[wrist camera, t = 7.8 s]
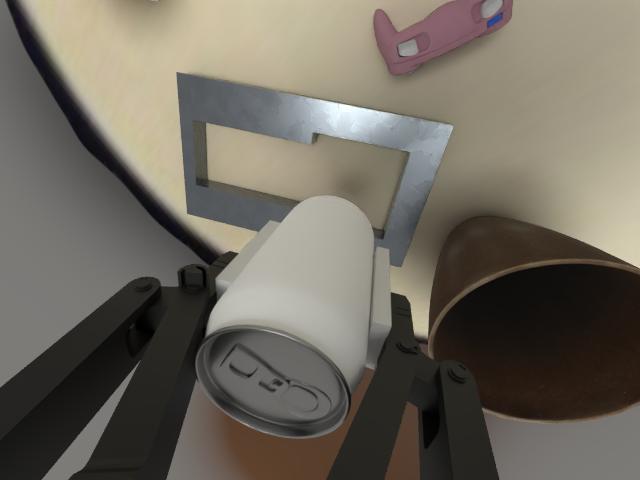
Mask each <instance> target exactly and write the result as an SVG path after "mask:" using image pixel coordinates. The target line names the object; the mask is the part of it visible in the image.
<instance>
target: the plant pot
mask: <svg viewBox="0 0 640 480" xmlns="http://www.w3.org/2000/svg"><path fill="white" fill-rule="evenodd" d="M428 352H429V357H430V358H431V359H433V360H435V361H437V362H439V363H440V364H441V363H442V362H443V361H444V360H448V359H450V360H455V361H457V362H459V363H461V364H463V365H464V366H465V367H467V368H468V369H469V371H470V372H471V373H472V374H473V376H474V379H475V382H476V386H477V390H478V394H479V398H480V402H481V406H482V410H483V411H484V412H486V413H490V414H493V415H495V416H499V417H503V418H506V419H512V420H518V421H524V422H533V423H571V422H581V421H588V420H593V419H599V418H603V417H607V416H611V415H614V414H618V413H621V412H624V411H627V410H630V409H632V408H634V407H637V406H639V405H640V268H638V267H635V266H633V265H631V264H629V263H627V262H625V261H623V260H621V259H619V258H617V257H615V256H612V255H610V254H608V253H606V252H604V251H602V250H600V249H598V248H595V247H593V246H591V245H589V244H587V243H584V242H582V241H579V240H577V239H574V238H572V237H569V236H567V235H564V234H561V233H558V232H555V231H553V230H550V229H547V228H544V227H540V226H537V225H534V224H530V223H526V222H522V221H518V220H513V219H508V218H501V217H491V216H482V217H476V218H472V219H469V220H467V221H465V222H463V223H461V224H460V225H458V226H457V227H456V228H455V229H454V230H453V231H452V232H451V234H450V235H449V237H448V239H447V241H446V243H445V245H444V247H443V249H442V252H441V255H440V257H439V260H438V264H437V267H436V271H435V276H434V281H433V286H432V292H431V300H430V310H429V331H428Z"/></svg>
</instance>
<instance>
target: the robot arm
mask: <svg viewBox="0 0 640 480" xmlns="http://www.w3.org/2000/svg"><path fill="white" fill-rule="evenodd" d="M280 224H281V223H279V222H275V221H271V220H270V221H269V222H268V223H267V224H266V225H265V226H264V227H263V228H262V229H261V230H260V231H259V232H258V234H257V235H256V236H255V237H254V238H253V239H252V240H251V241H250V242H249V243H248V244H247V245H246V246H245V247H244V248H243V250H242V251H241V252H240V253H235V252H231V251H229V252H227V253H225V254H222V255H221V256H220V257H219V258H218V259H217V260H216V261H215V262H214V263H213V264H212V265H211V266H210V267H209V268H207V267H205V266H204V265H200V264H191V265H187V266H184V267H182V268H180V270H179V271H178V282H179V287H163V286H161V284H160V281H159V280H158V279H157V278H154V277H141V278H138V279H135V280H133V281H131V282H129V283H128V284H127V285H126V286H124V287H123V288H122V289H121V290H120V291H118V292H117V293H116V294H115V295H113V296H112V297H111V298H110V299H109V300H107V301H106V302H105V303H104V304H102V305H101V306H100V307H99V308H97V309H96V310H95V311H94V312H93V313H91V314H90V315H89V316H88V317H86V318H85V319H84V320H83V321H81V322H80V323H79V324H78V325H77V326H75V327H74V328H73V329H72V330H70V331H69V332H68V333H67V334H65V335H64V336H63V337H62V338H61V339H59V340H58V341H57V342H56V343H54V344H53V345H52V346H51V347H49V349H47V350H46V351H45V352H43V353H42V354H41V355H40V356H38V357H37V358H36V359H35V360H34V361H32V362H31V363H30V364H29V365H27V366H26V367H25V368H24V369H22V370H21V371H20V372H19V373H18V374H16V375H15V376H14V377H13V378H11V379H10V380H9V381H8V382H7V383H6V384H4V385H3V386H2V387H0V480H42V478H43V477H44V476H45V475H46V474H47V473H48V471H49V470H50V469H51V468H52V466H53V465H54V464H55V463H56V462H57V460H58V459H59V458H60V457H61V456H62V454H63V453H64V452H65V451H66V450H67V448H68V447H69V446H70V445H71V443H72V442H73V441H74V440H75V439H76V438H77V436H78V435H79V434H80V433H81V431H82V430H83V429H84V428H85V427H86V425H87V424H88V423H89V422H90V420H91V419H92V418H93V417H94V416H95V414H96V413H97V412H98V411H99V410H100V409H101V407H102V406H103V405H104V404H105V402H106V401H107V400H108V399H109V398H110V396H111V395H112V394H113V393H114V392H115V390H116V389H117V388H118V387H119V386H120V384H121V383H122V382H123V381H124V379H125V378H126V377H127V376H128V374H129V373H130V372H131V371H132V370H133V369H134V367H135V366H136V365H137V364H138V363H139V361H140V360H141V361H140V363H139V365H138V367H137V368H136V370H135V372H134V374H133V376H132V378H131V380H130V382H129V384H128V386H127V388H126V390H125V392H124V394H123V396H122V397H121V399H120V401H119V403H118V405H117V407H116V409H115V411H114V413H113V415H112V417H111V419H110V421H109V423H108V425H107V426H106V428H105V430H104V432H103V434H102V436H101V438H100V440H99V442H98V444H97V446H96V448H95V450H94V451H93V453H92V455H91V458H90V459H89V461H88V463H87V464H86V466H85V467H84V468H83V469H82V470H80V471H78V472H77V473H75V474H73V475H72V476H71V477H70V478H69V480H166V478H167V475H168V472H169V468H170V465H171V462H172V458H173V455H174V452H175V448H176V445H177V442H178V438H179V435H180V432H181V428H182V425H183V421H184V418H185V415H186V412H187V408H188V405H189V402H190V398H191V395H192V392H193V388H194V385H195V382H196V375H195V371H194V355H195V352H196V349H197V347H198V345H199V344H200V343H201V341H202V340H203V339H204V338H205V334H206V328H207V323H208V320H209V316H210V314H211V312H212V310H213V308H214V307H215V305H216V304H217V302H218V301H219V299H220V298H221V297H222V295H223V294H224V293H225V291H226V290H227V289H228V288H229V286H230V285H231V284H232V283H233V281H234V280H235V279H236V278H237V276H238V275H239V274H240V273H241V271H242V270H243V269H244V268H245V267H246V265H247V264H248V263H249V262H250V260H251V259H252V258H253V257H254V255H255V254H256V253H257V252H258V251H259V249H260V248H261V247H262V246H263V244H264V243H265V242H266V241H267V239H268V238H269V237H270V236H271V235H272V233H273V232H274V231H275V230H276V228H277V227H278V226H279V225H280ZM376 364H377V369H376V371H375V373H374V376H373V378H372V380H371V382H370V384H369V387H368V389H367V391H366V393H365V395H364V397H363V400H362V402H361V404H360V406H359V409H358V411H357V413H356V415H355V417H354V420H353V422H352V424H351V426H350V428H349V431H348V433H347V435H346V437H345V440H344V442H343V444H342V446H341V448H340V450H339V453H338V455H337V457H336V459H335V461H334V464H333V466H332V468H331V471H330V472H329V475H328V477H327V479H326V480H384V478H385V475H386V472H387V468H388V465H389V461H390V458H391V455H392V451H393V448H394V445H395V441H396V437H397V434H398V431H399V427H400V424H401V421H402V417H403V414H404V410H405V407H406V404H407V401H408V402H410V403H411V404H413V405H414V406H416V407H418V430H419V457H420V480H499V476H498V472H497V468H496V464H495V460H494V456H493V452H492V447H491V444H490V439H489V435H488V431H487V427H486V423H485V419H484V415H483V410H482V406H481V402H480V398H479V394H478V390H477V386H476V382H475V379H474V376H473V374H472V373H471V372H470V371H469V369H468V368H467V367H465V366H464V365H463V364H461V363H459V362H457V361H455V360H450V359H448V360H444V361H443V362H442V363H441V364H440V363H439V362H437V361H435V360H433V359H431V358H430V357H428V356H426V355H425V354H424V353H423V352H422V351H421V348H420V346H419V344H418V343H417V342H416V341H415V338H414V330H413V322H412V315H411V307H410V303H409V301H408V299H407V298H406V296H403V295H399V294H396V293H392V292H390V260H389V249H386V248H382V247H378V246H377V248H376V251H375V254H374V258H373V272H372V289H371V305H370V320H369V335H368V349H367V359H366V366H365V367H368V368H371V369H375V367H376Z"/></svg>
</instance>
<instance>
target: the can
mask: <svg viewBox="0 0 640 480" xmlns="http://www.w3.org/2000/svg"><path fill="white" fill-rule="evenodd" d="M373 254H374V235H373V230H372V226H371V224H370V222H369V220H368V218H367V217H366V215H365V214H364V213H363V212H362V211H361V210H360V209H359V208H358V207H357V206H356V205H354V204H353V203H351V202H350V201H348V200H345V199H343V198H340V197H336V196H330V195H320V196H314V197H311V198H308V199H306V200H304V201H302V202H301V203H299V204H298V205H297V206H296V207H294V208H293V210H292V211H291V212H290V213H289V214H288V215H287V216H286V218H285V219H284V220H283V221H282V222H281V224H280V225H279V226H278V227H277V228H276V230H275V231H274V232H273V233H272V235H271V236H270V237H269V238H268V239H267V241H266V242H265V243H264V244H263V246H262V247H261V248H260V249H259V251H258V252H257V253H256V254H255V255H254V257H253V258H252V259H251V260H250V262H249V263H248V264H247V265H246V267H245V268H244V269H243V270H242V271H241V273H240V274H239V275H238V276H237V278H236V279H235V280H234V281H233V283H232V284H231V285H230V286H229V288H228V289H227V290H226V291H225V293H224V294H223V295H222V297H221V298H220V299H219V301H218V302H217V304H216V305H215V307H214V308H213V310H212V312H211V314H210V316H209V320H208V323H207V328H206V334H205V338H204V339H203V340H202V341H201V343H200V344H199V345H198V347H197V349H196V352H195V355H194V371H195V375H196V378H197V380H198V383H199V384H200V386H201V388H202V390H203V391H204V392H205V394H206V395H207V396H208V397H209V399H210V400H211V401H212V402H213V403H214V404H216V406H217V407H219V408H220V409H221V410H222V411H223V412H225V413H226V414H227V415H229V416H230V417H232V418H234V419H235V420H237V421H239V422H241V423H242V424H244V425H247V426H248V427H251V428H253V429H256V430H258V431H261V432H264V433H267V434H271V435H275V436H280V437H286V438H312V437H318V436H321V435H324V434H327V433H330V432H332V431H333V430H335V429H336V428H338V427H339V426H340V425H341V424H342V423H343V422H344V421H345V419H346V418H347V416H348V413H349V411H350V406H351V396H352V395H353V393H354V392H355V390H356V389H357V387H358V386H359V384H360V381H361V380H362V377H363V375H364V371H365V366H366V359H367V349H368V335H369V320H370V305H371V289H372V272H373Z"/></svg>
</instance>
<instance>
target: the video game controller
mask: <svg viewBox="0 0 640 480" xmlns="http://www.w3.org/2000/svg"><path fill="white" fill-rule="evenodd" d="M512 4H513V0H455V1H452V2H449V3H446V4H444V5H442V6H440V7H438V8H437V9H436V10H435V11H433V12H432V13H431V14H430V15H429V16H428V17H426V18H425V19H424V20H423V21H421V22H418V23H416V24H414V25H412V26H410V27H409V28H407V29H405V30H403V31H401V32H399V33H398V32H397V31H396V30H395V28H394V27H393V26H392V24H391V22H390V20H389V18H388V16H387V14H386V13H385V12H384V11H383V10H381V9H377V10H376V11H375V13H374V19H373V20H374V30H375V36H376V39H377V44H378V47H379V49H380V51H381V53H382V55H383V57H384V59H385V61H386V63H387V66H388V70H389V72H390V74H392V75H398V74H411V73H413V72H414V71H415V70H416V69H417V67H419V66H420V65H422V64H423V63H424V62H425V61H428V60H430V59H433V58H435V57H438V56H440V55H442V54H444V53H446V52H449V51H451V50H453V49H455V48H457V47H459V46H461V45H463V44H465V43H467V42H469V41H470V40H472V39H474V38H476V37H480V36H484V35H487V34H490V33H492V32H494V31H496V30H498V29H500V28H501V27H503V26H504V25H505V24H507V23H508V22H509V20H510V19H511V16H512Z"/></svg>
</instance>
